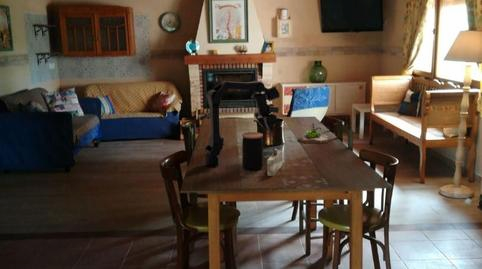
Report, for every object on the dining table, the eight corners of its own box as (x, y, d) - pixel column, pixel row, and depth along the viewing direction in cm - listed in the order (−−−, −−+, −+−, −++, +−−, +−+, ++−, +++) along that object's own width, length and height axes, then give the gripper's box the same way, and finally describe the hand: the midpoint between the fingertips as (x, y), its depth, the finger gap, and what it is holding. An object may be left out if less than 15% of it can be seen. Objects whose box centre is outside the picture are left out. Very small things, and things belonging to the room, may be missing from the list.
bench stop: (267, 175, 231) (267, 153, 228) (276, 164, 249) (277, 144, 247) (273, 176, 230) (273, 154, 227) (282, 164, 248) (282, 144, 246)
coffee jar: (248, 164, 250) (248, 131, 246) (266, 166, 245) (266, 133, 241) (238, 169, 241) (238, 135, 237) (256, 172, 236) (256, 137, 232)
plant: (327, 137, 312) (328, 120, 310) (330, 144, 293) (330, 126, 291) (297, 136, 314) (297, 120, 312) (298, 143, 295) (298, 126, 293)
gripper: (282, 101, 247) (288, 128, 251) (268, 97, 264) (274, 123, 268) (263, 107, 244) (270, 135, 248) (250, 103, 261) (257, 129, 265)
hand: (268, 130), depth 257 cm, fingers open, 9 cm apart
